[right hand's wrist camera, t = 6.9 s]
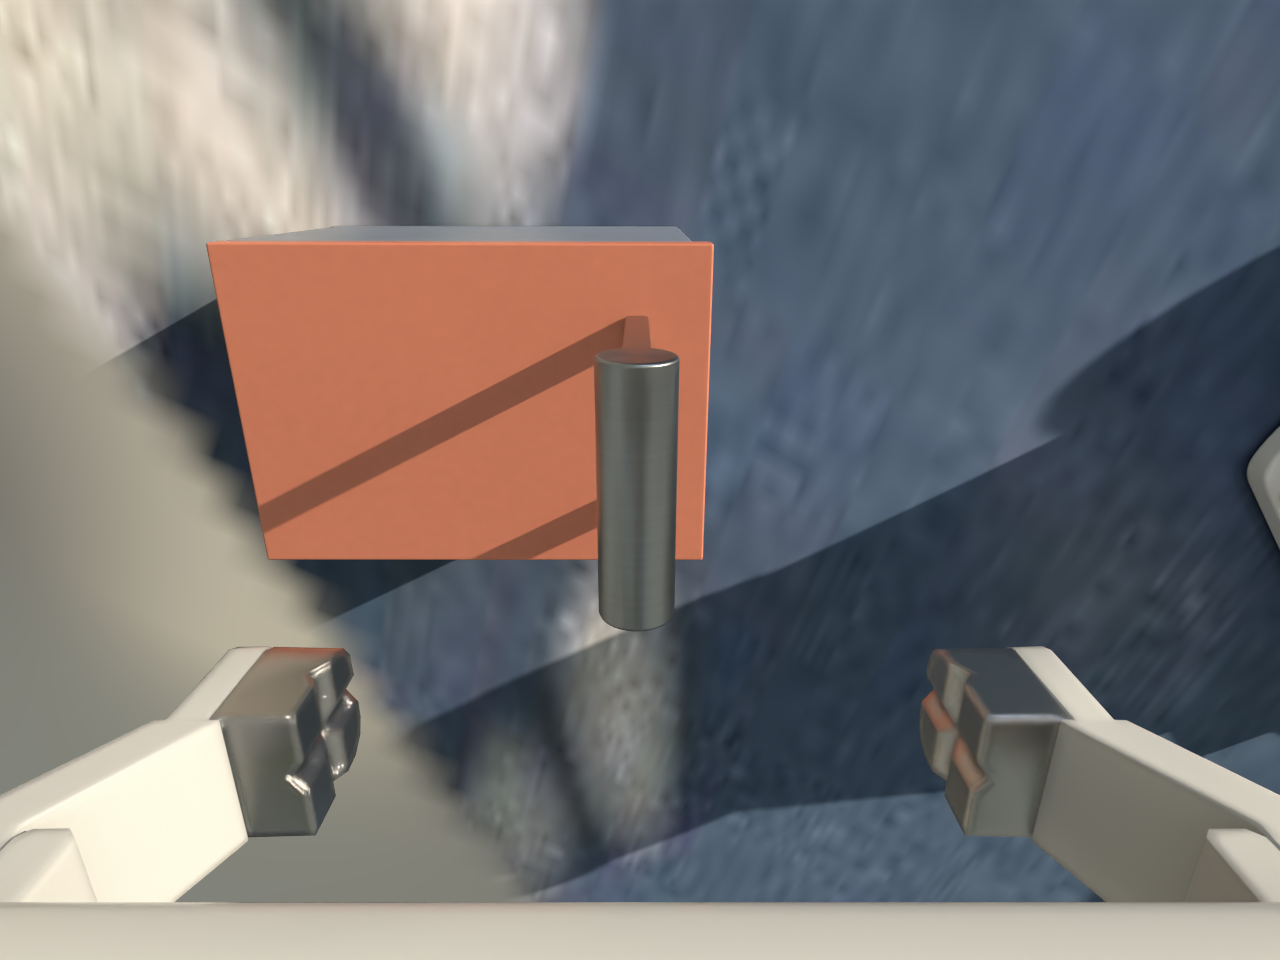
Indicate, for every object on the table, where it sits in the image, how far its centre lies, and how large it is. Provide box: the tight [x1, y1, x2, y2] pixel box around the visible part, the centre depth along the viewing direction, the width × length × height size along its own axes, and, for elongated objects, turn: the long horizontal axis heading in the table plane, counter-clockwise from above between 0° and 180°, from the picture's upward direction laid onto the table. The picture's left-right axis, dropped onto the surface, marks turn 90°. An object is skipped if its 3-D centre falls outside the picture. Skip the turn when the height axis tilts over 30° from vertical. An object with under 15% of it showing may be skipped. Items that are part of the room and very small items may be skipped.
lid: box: [206, 241, 714, 631], centre depth 20 cm, size 15×10×8 cm
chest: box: [227, 226, 692, 242], centre depth 29 cm, size 14×10×10 cm
